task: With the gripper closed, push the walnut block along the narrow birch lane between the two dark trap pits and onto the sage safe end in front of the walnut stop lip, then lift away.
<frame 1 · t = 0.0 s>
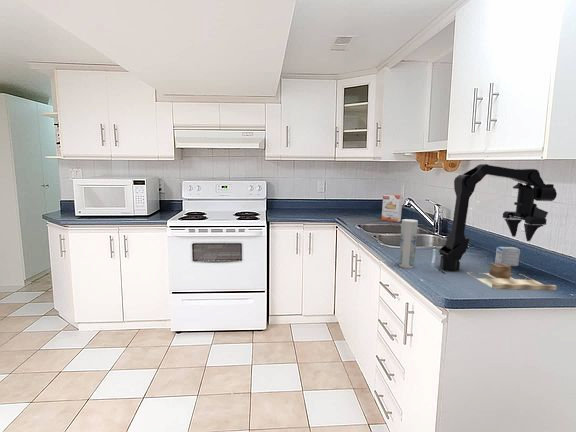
hand: (520, 238, 148), 15 cm above the worktop, tool pointing down, fingers open, 9 cm apart
cracker box: (390, 221, 291), on the worktop
trap board: (507, 283, 136), on the worktop
spray can: (406, 266, 157), on the worktop
medicine box: (506, 267, 160), on the worktop
walnut block: (499, 276, 142), point 1 cm above the worktop, touching trap board
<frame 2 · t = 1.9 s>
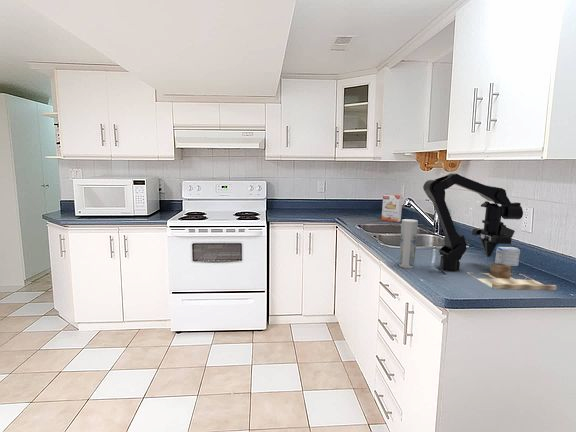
hand: (488, 256, 149), 7 cm above the worktop, tool pointing down, fingers closed
nothing on the worktop moved.
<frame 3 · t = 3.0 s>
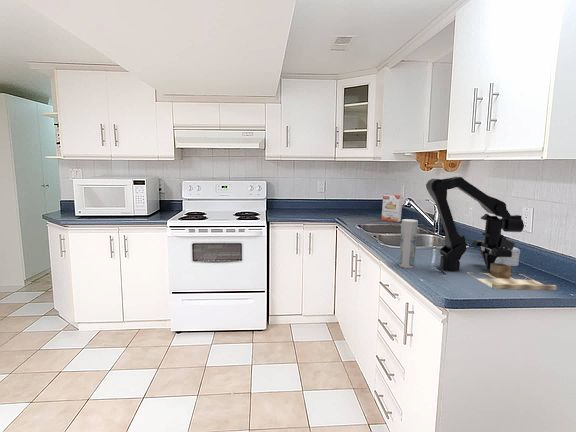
hand: (488, 268, 149), 2 cm above the worktop, tool pointing down, fingers closed
nothing on the worktop moved.
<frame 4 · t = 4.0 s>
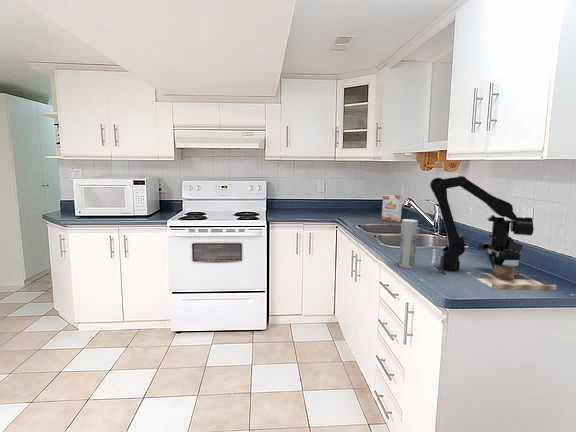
hand: (496, 272, 144), 2 cm above the worktop, tool pointing down, fingers closed
walnut block: (503, 277, 140), point 1 cm above the worktop
everything else where it was.
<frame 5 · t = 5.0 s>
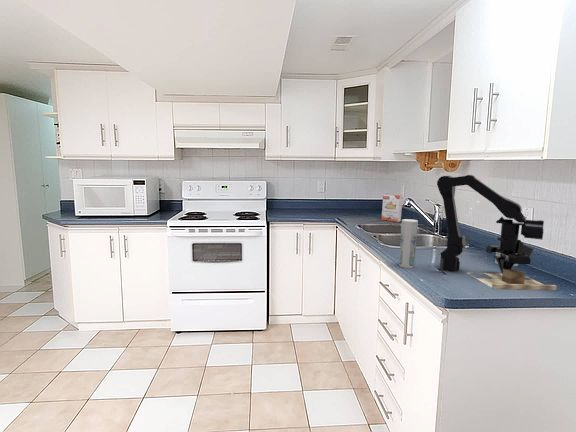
hand: (504, 276, 139), 2 cm above the worktop, tool pointing down, fingers closed
walnut block: (512, 282, 134), point 1 cm above the worktop, touching gripper
everything else where it was.
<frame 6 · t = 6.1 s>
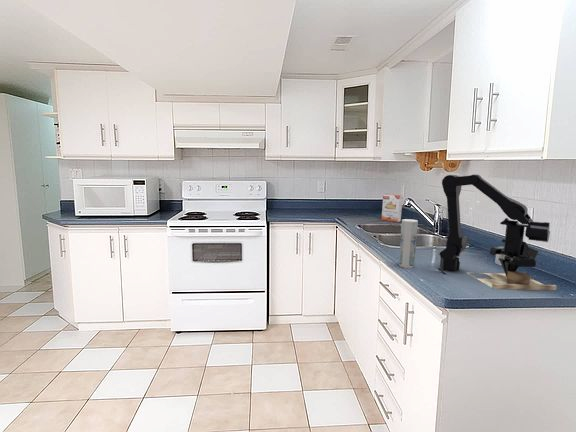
hand: (509, 279, 136), 2 cm above the worktop, tool pointing down, fingers closed
walnut block: (517, 285, 131), point 1 cm above the worktop, touching gripper, trap board
everything else where it was.
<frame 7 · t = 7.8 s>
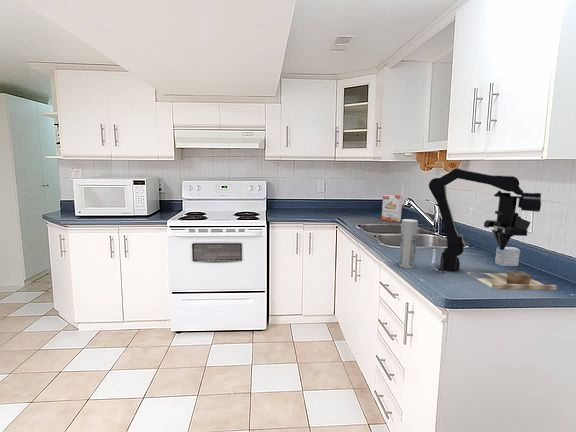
hand: (501, 249, 140), 12 cm above the worktop, tool pointing down, fingers closed
walnut block: (517, 285, 131), point 1 cm above the worktop, touching trap board
everything else where it was.
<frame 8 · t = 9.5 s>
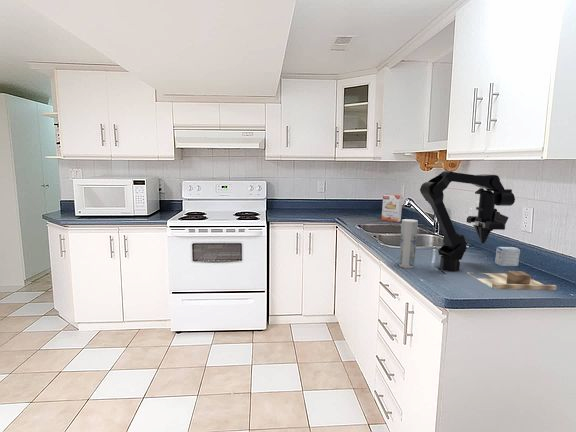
hand: (482, 243, 151), 12 cm above the worktop, tool pointing down, fingers closed
nothing on the worktop moved.
at the end: walnut block 0.2 cm from the target spot, point 1.2 cm above the worktop; walnut block tilted 0°; walnut block moved 10.7 cm from its start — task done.
